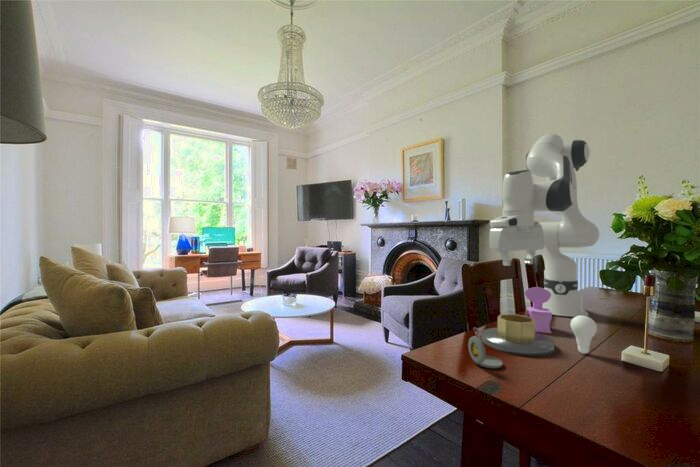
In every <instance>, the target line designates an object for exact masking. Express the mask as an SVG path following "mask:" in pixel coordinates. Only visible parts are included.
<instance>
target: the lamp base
mask: <svg viewBox="0 0 700 467" xmlns="http://www.w3.org/2000/svg"><path fill="white" fill-rule="evenodd" d="M481 340H482V342H483V344H484V345H486V346H488V347H490V348H492V349H493V350H496V351H499V352H502V353H506V354H510V355H515V356H521V357H546V356H551V355H553V353H554V352H555V342H554V340H553V339H551V338H550V337H548V336H546V335H543V334H541V333H539V332H535V319H533V318H530V317H529V316H527V315H522V314H521V315H520V314H514V313H505V314H504V313H502V314H499V315H498V316H497V327H491V328H486V329H484V330H482V332H481Z"/></svg>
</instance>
